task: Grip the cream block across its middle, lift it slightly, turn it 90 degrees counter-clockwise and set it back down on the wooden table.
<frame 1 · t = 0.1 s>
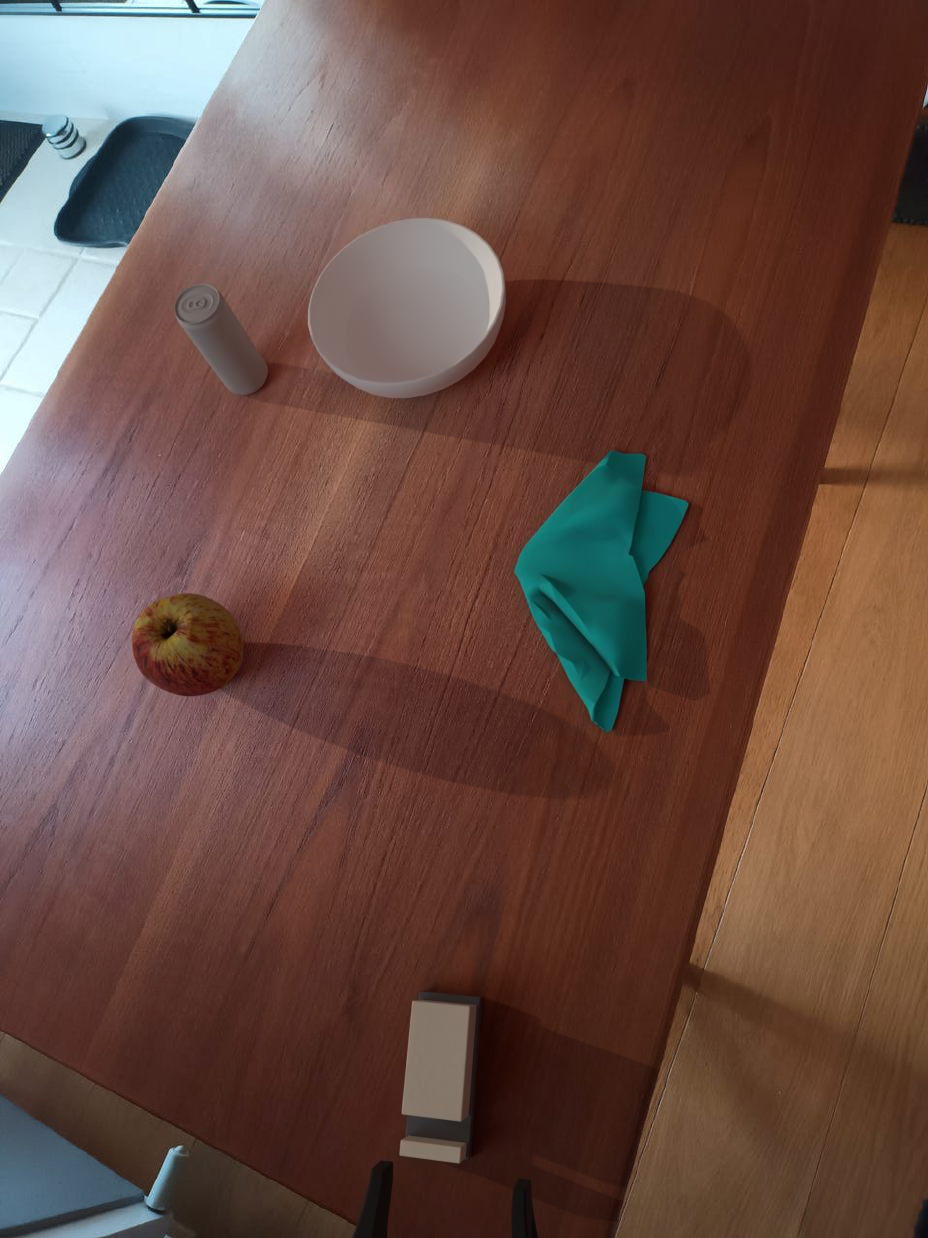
hand: (451, 1174, 51), 21 cm above the table, tool horizontal, fingers open, 7 cm apart
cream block: (439, 1153, 70), on the table
apple: (215, 663, 88), on the table
cloth: (592, 580, 84), on the table
bowl: (419, 339, 97), on the table
beverage can: (248, 379, 99), on the table
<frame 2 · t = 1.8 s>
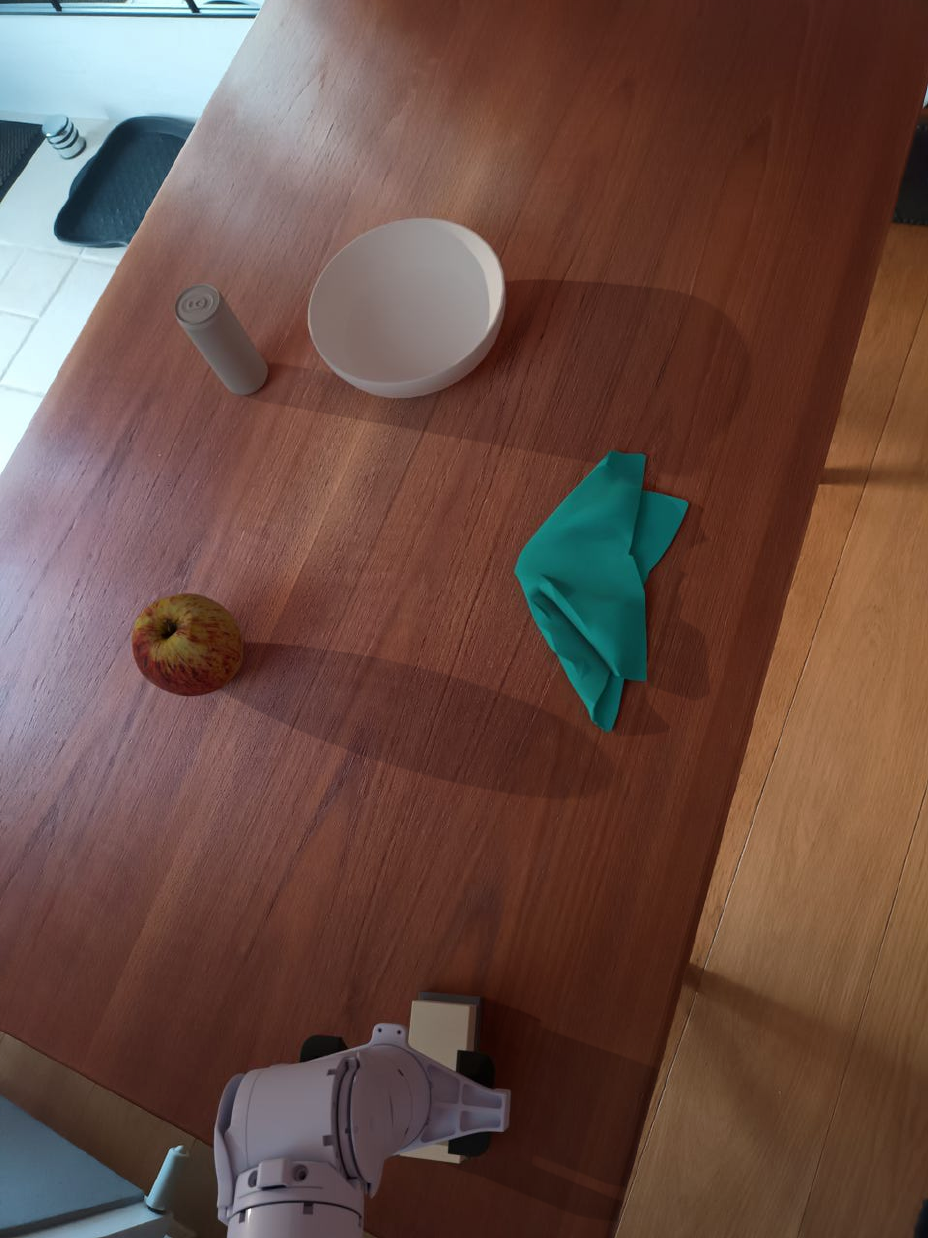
hand: (419, 1082, 64), 9 cm above the table, tool pointing down, fingers open, 7 cm apart
nothing on the table moved.
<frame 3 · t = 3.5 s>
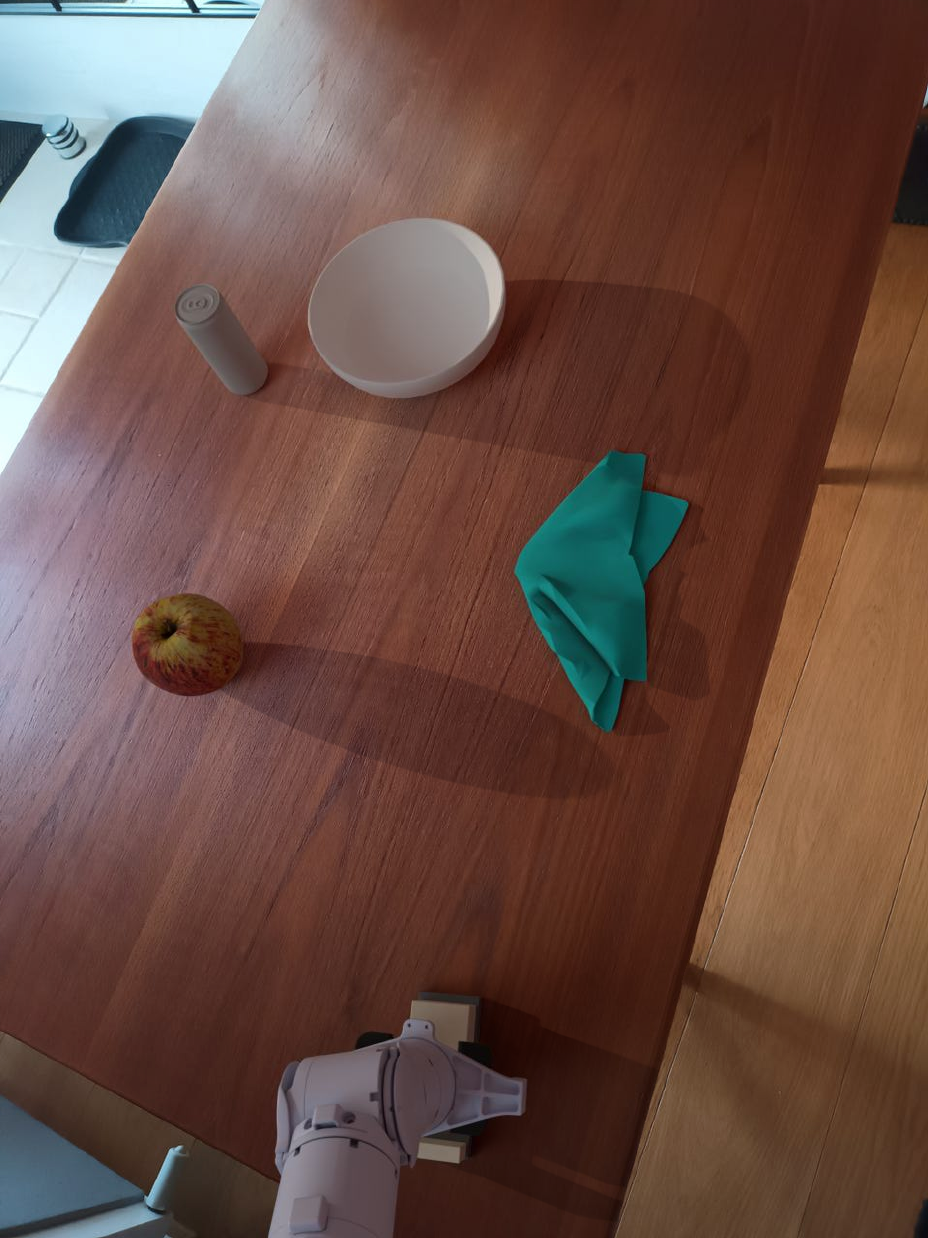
hand: (442, 1073, 71), 1 cm above the table, tool pointing down, fingers closed on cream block, 4 cm apart
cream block: (439, 1153, 70), on the table, touching gripper
everything else where it was.
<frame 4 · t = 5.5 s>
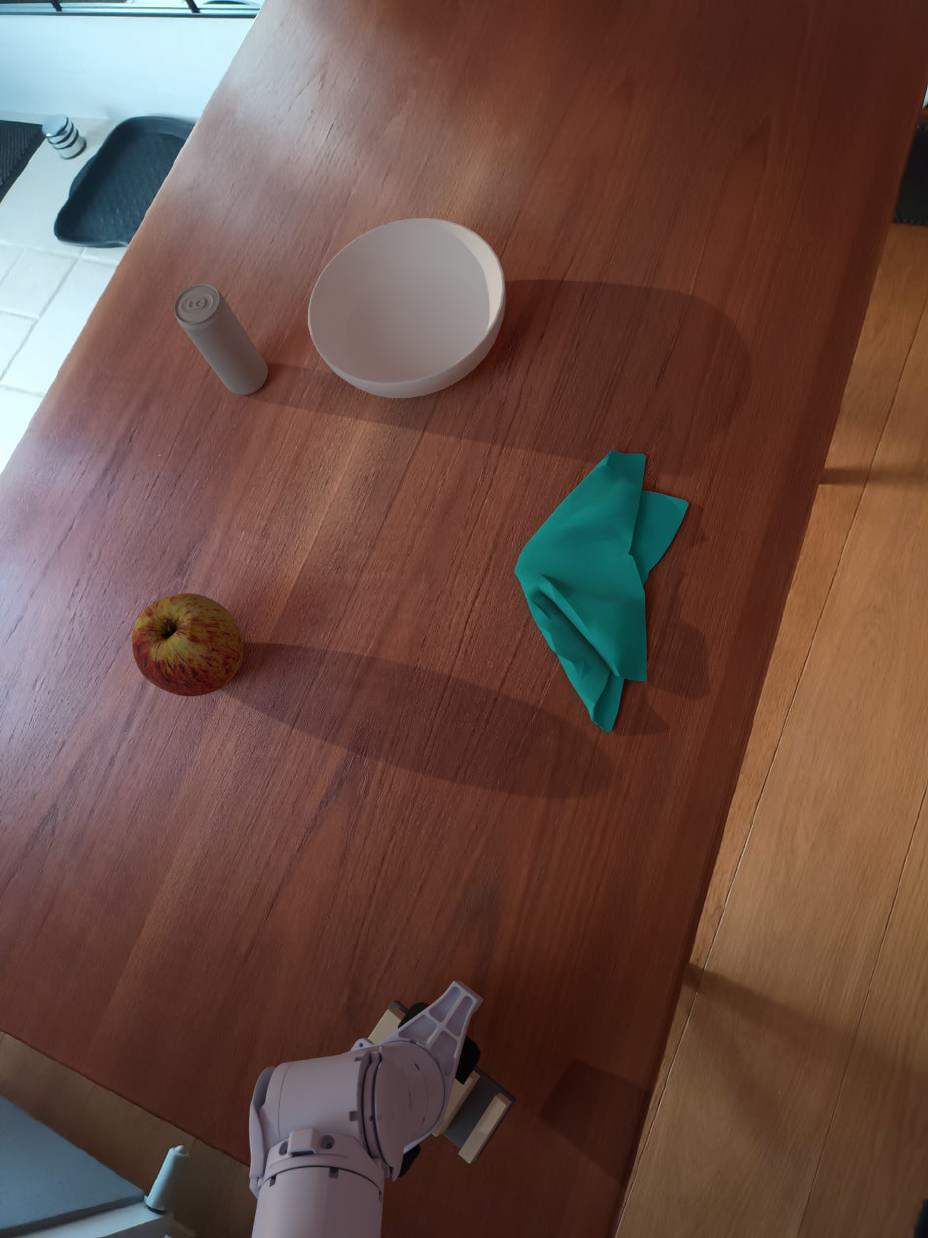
hand: (431, 1077, 68), 5 cm above the table, tool pointing down, fingers closed on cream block, 4 cm apart
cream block: (497, 1128, 67), point 3 cm above the table, touching gripper
everything else where it was.
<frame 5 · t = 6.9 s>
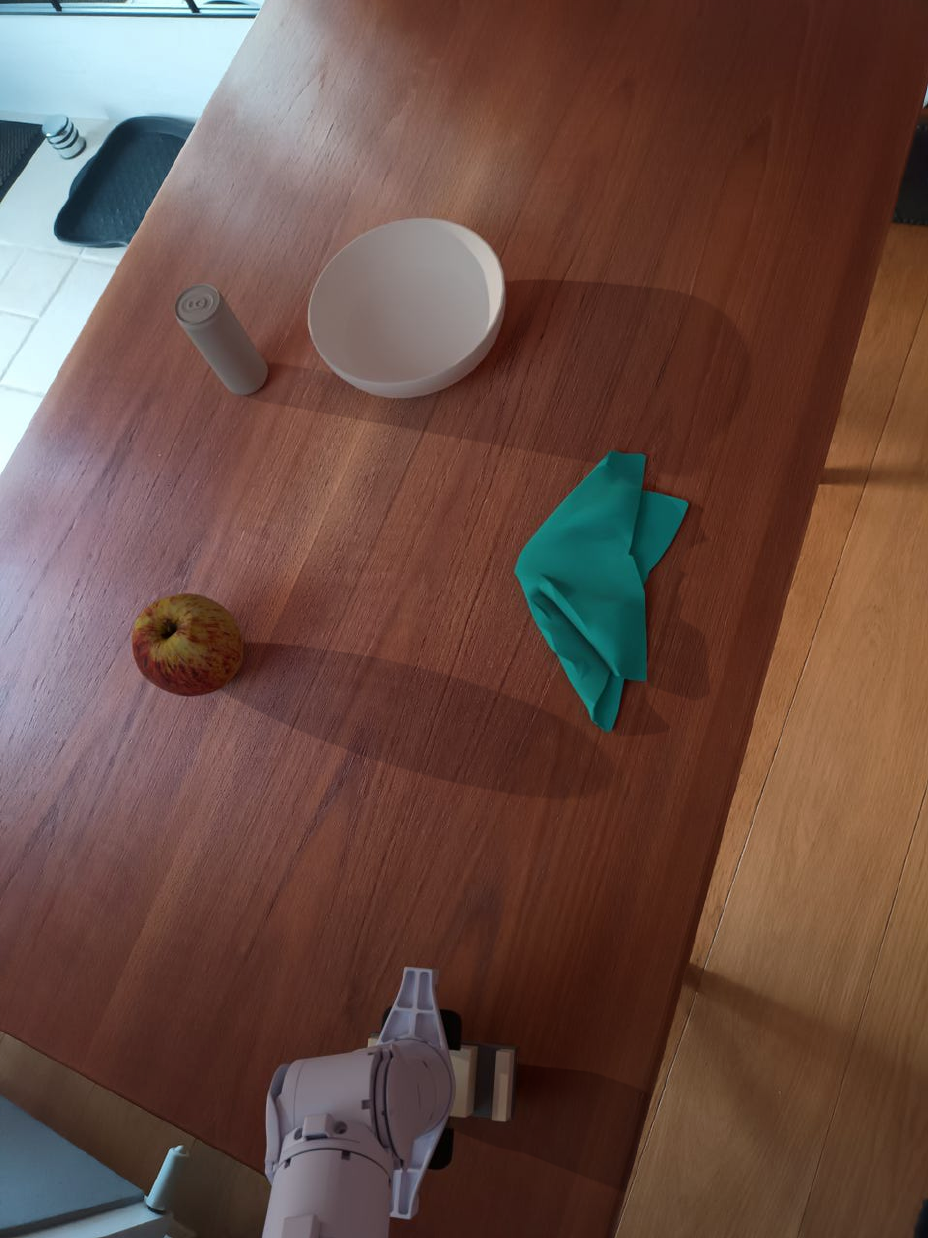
hand: (438, 1075, 70), 3 cm above the table, tool pointing down, fingers closed on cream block, 4 cm apart
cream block: (516, 1082, 70), point 1 cm above the table, touching gripper
everything else where it was.
when the fingers open (1 cm above the table, at t = 7.8 s): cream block stays where it is, on the table.
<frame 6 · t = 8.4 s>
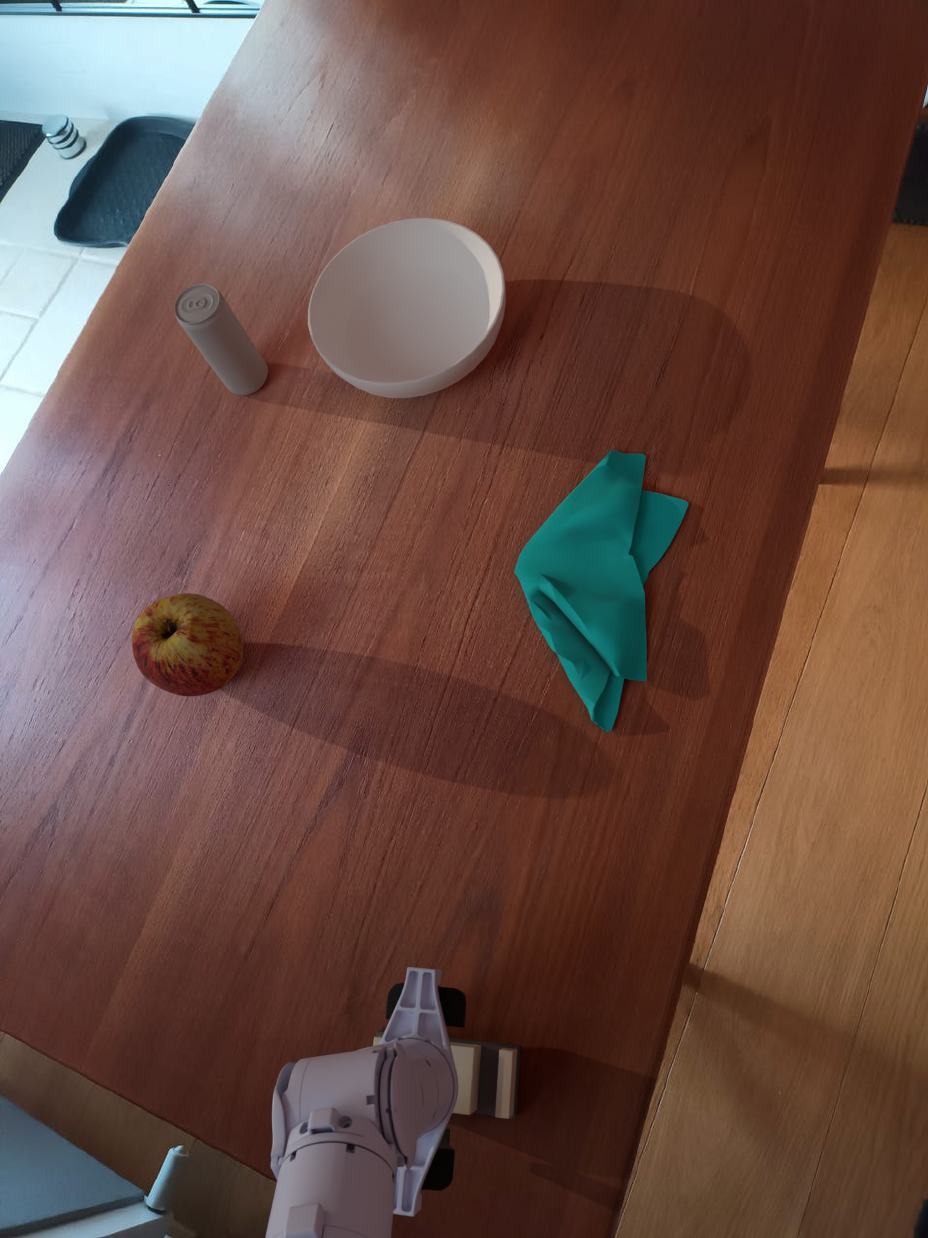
hand: (440, 1074, 70), 2 cm above the table, tool pointing down, fingers open, 7 cm apart
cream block: (518, 1080, 71), on the table
everything else where it was.
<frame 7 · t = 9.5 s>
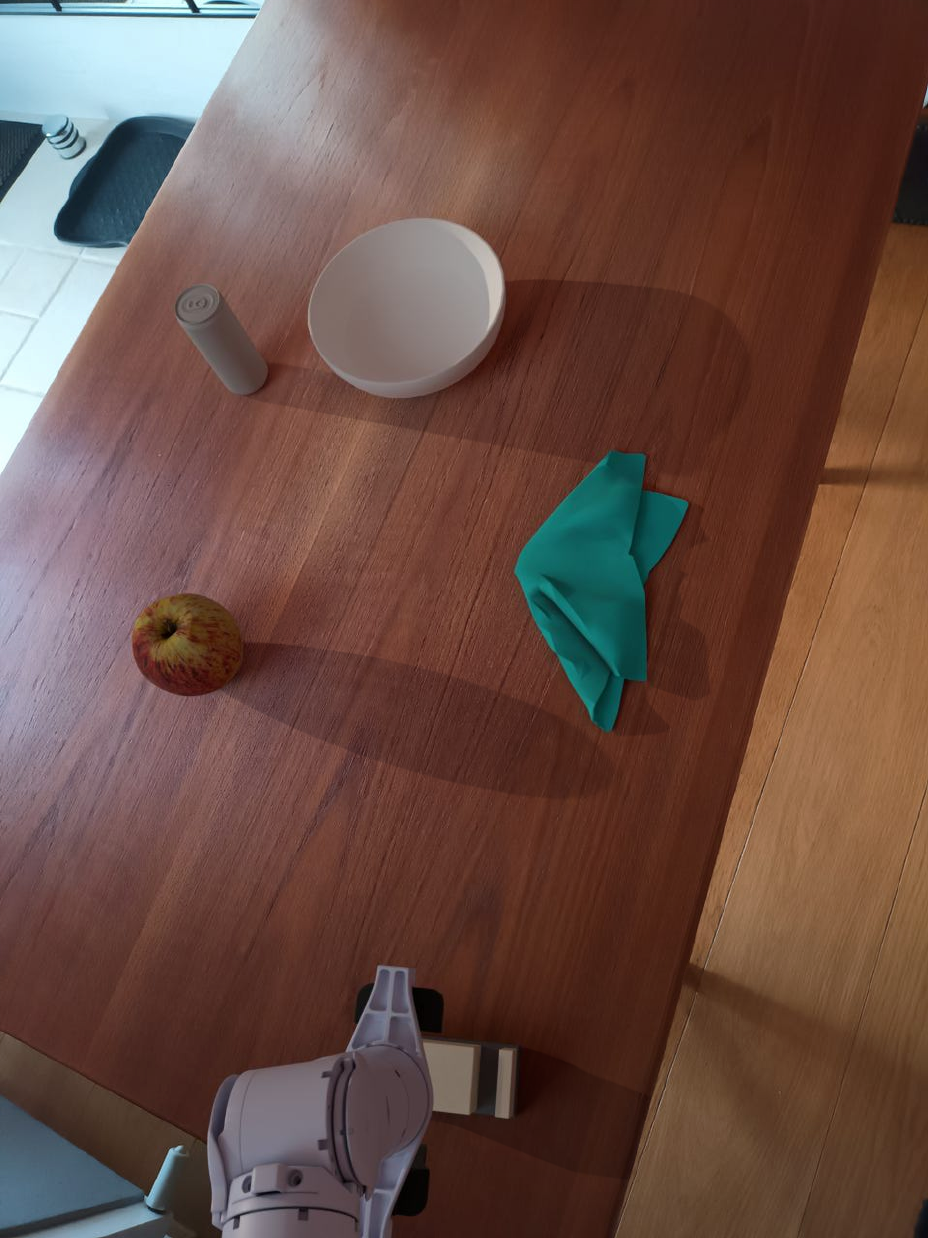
hand: (417, 1083, 64), 9 cm above the table, tool pointing down, fingers open, 7 cm apart
nothing on the table moved.
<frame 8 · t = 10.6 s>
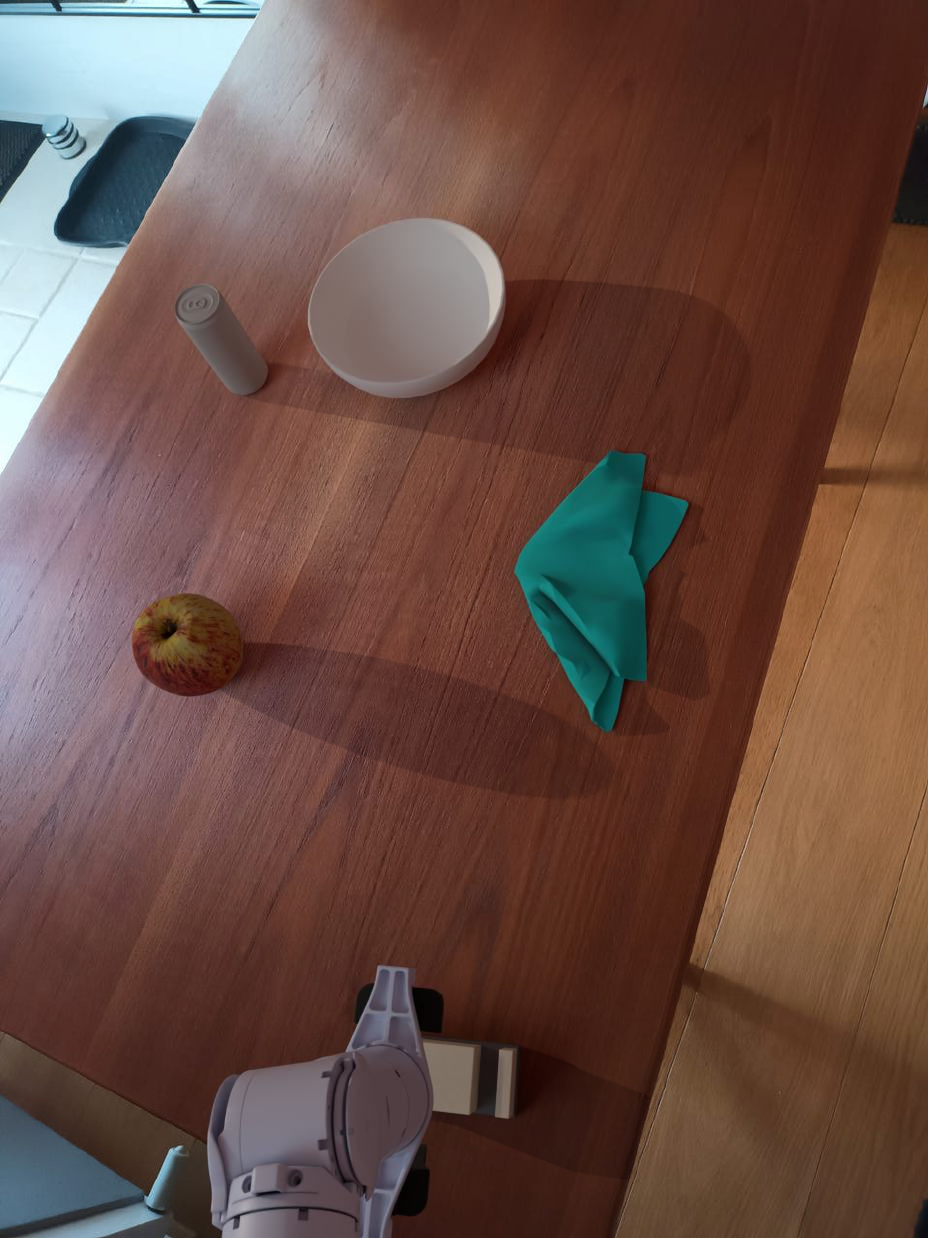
hand: (417, 1083, 64), 9 cm above the table, tool pointing down, fingers open, 7 cm apart
nothing on the table moved.
at the end: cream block 0.1 cm from the target spot, on the table; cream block tilted 0°; beverage can moved 0.2 cm from its start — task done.
